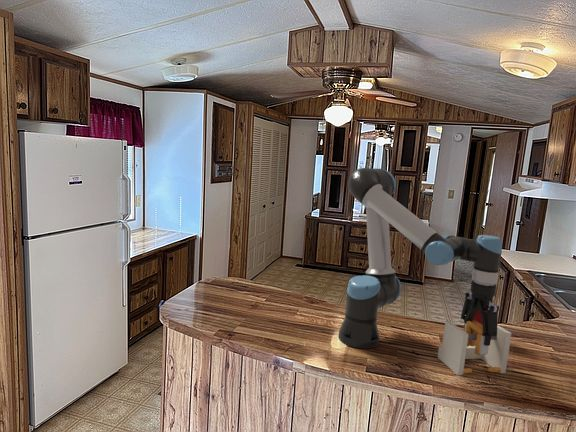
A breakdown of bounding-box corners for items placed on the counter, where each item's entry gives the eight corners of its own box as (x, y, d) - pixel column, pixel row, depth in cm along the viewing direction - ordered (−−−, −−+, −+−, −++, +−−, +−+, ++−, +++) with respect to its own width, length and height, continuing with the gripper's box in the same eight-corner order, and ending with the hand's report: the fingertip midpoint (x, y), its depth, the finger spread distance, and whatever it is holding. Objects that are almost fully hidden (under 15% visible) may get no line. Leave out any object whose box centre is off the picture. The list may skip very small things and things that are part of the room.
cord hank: (487, 354, 131) (491, 329, 130) (476, 355, 130) (480, 329, 129) (472, 343, 139) (475, 319, 137) (462, 344, 138) (465, 320, 137)
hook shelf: (457, 375, 129) (463, 334, 127) (437, 357, 140) (442, 319, 138) (505, 373, 132) (511, 333, 130) (481, 356, 143) (487, 319, 142)
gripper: (517, 292, 122) (506, 362, 125) (473, 273, 142) (465, 333, 145) (496, 292, 120) (485, 363, 124) (455, 273, 140) (447, 334, 144)
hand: (474, 347), depth 134 cm, fingers closed on cord hank, 8 cm apart
